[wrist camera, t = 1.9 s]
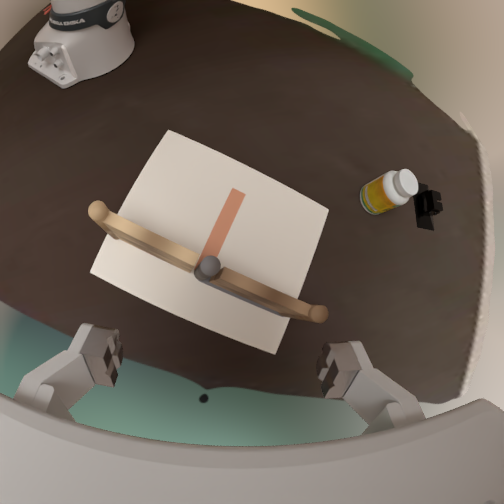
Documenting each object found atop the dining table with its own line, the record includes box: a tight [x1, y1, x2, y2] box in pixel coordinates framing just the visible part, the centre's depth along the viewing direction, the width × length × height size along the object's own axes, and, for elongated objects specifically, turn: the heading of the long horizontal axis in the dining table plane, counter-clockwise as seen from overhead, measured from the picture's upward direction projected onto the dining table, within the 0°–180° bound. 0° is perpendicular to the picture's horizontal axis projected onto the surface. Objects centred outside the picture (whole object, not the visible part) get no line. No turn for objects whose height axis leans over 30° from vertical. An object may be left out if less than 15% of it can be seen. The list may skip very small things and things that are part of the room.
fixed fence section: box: [194, 256, 328, 323], centre depth 31 cm, size 14×2×10 cm, turn 67°
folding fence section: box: [88, 201, 200, 273], centre depth 29 cm, size 11×2×10 cm, turn 67°
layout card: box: [90, 130, 329, 354], centre depth 36 cm, size 26×22×1 cm
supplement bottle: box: [360, 169, 418, 215], centre depth 40 cm, size 5×5×10 cm
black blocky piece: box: [413, 183, 443, 231], centre depth 46 cm, size 12×7×5 cm, turn 179°
